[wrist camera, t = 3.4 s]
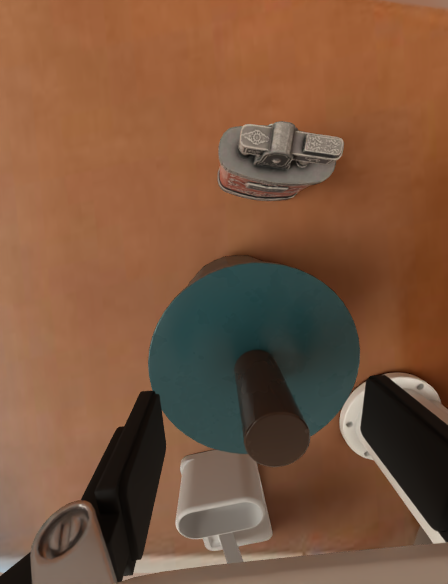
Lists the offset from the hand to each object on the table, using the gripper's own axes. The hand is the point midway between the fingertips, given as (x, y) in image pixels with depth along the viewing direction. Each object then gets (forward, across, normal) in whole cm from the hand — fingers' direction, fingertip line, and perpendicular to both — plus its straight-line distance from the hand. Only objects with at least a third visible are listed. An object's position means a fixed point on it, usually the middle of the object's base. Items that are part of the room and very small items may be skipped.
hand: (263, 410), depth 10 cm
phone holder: (+16, +2, +28) cm, 32 cm away
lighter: (+16, -3, -13) cm, 21 cm away
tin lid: (+4, 0, 0) cm, 4 cm away
